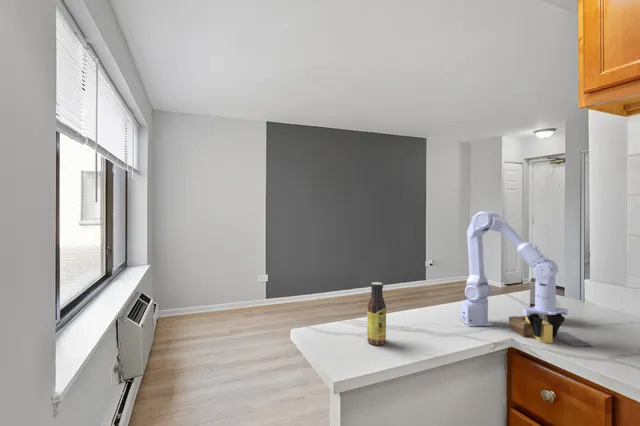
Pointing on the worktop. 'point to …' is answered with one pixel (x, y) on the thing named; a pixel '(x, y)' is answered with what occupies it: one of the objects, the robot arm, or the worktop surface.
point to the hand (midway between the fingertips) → (544, 335)
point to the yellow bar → (544, 332)
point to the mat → (571, 340)
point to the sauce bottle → (376, 315)
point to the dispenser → (520, 326)
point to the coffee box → (532, 298)
